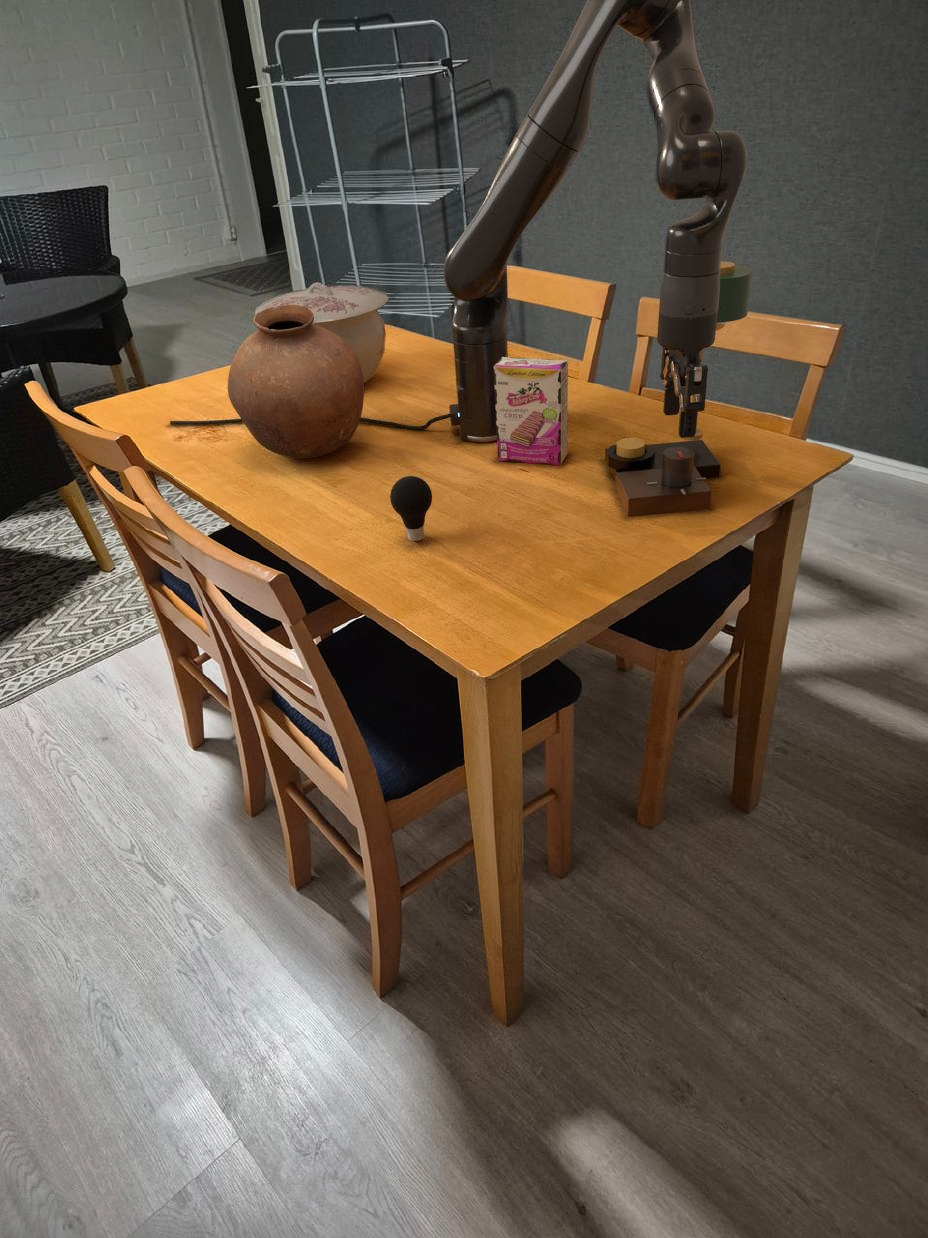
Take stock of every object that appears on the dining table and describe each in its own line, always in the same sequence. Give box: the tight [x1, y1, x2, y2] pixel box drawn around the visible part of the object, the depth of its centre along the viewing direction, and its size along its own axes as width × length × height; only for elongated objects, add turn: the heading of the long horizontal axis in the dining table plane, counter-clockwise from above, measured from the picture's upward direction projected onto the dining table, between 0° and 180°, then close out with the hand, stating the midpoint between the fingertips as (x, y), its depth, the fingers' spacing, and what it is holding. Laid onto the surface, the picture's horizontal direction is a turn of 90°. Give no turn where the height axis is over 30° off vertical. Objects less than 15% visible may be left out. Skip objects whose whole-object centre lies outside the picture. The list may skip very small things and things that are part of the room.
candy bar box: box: [494, 356, 569, 466], centre depth 138 cm, size 11×5×16 cm, turn 71°
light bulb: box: [389, 475, 433, 543], centre depth 119 cm, size 6×6×10 cm
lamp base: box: [604, 439, 721, 484], centre depth 135 cm, size 17×10×4 cm, turn 93°
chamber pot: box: [254, 282, 389, 384], centre depth 177 cm, size 28×28×21 cm
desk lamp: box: [683, 260, 753, 441], centre depth 128 cm, size 9×9×26 cm
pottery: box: [227, 304, 365, 459], centre depth 145 cm, size 23×23×25 cm
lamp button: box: [615, 437, 646, 458], centre depth 133 cm, size 4×4×2 cm
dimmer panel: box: [615, 465, 712, 518], centre depth 126 cm, size 12×9×3 cm
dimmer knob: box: [661, 447, 694, 488], centre depth 124 cm, size 4×4×5 cm
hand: (678, 424), depth 120 cm, fingers open, 8 cm apart
